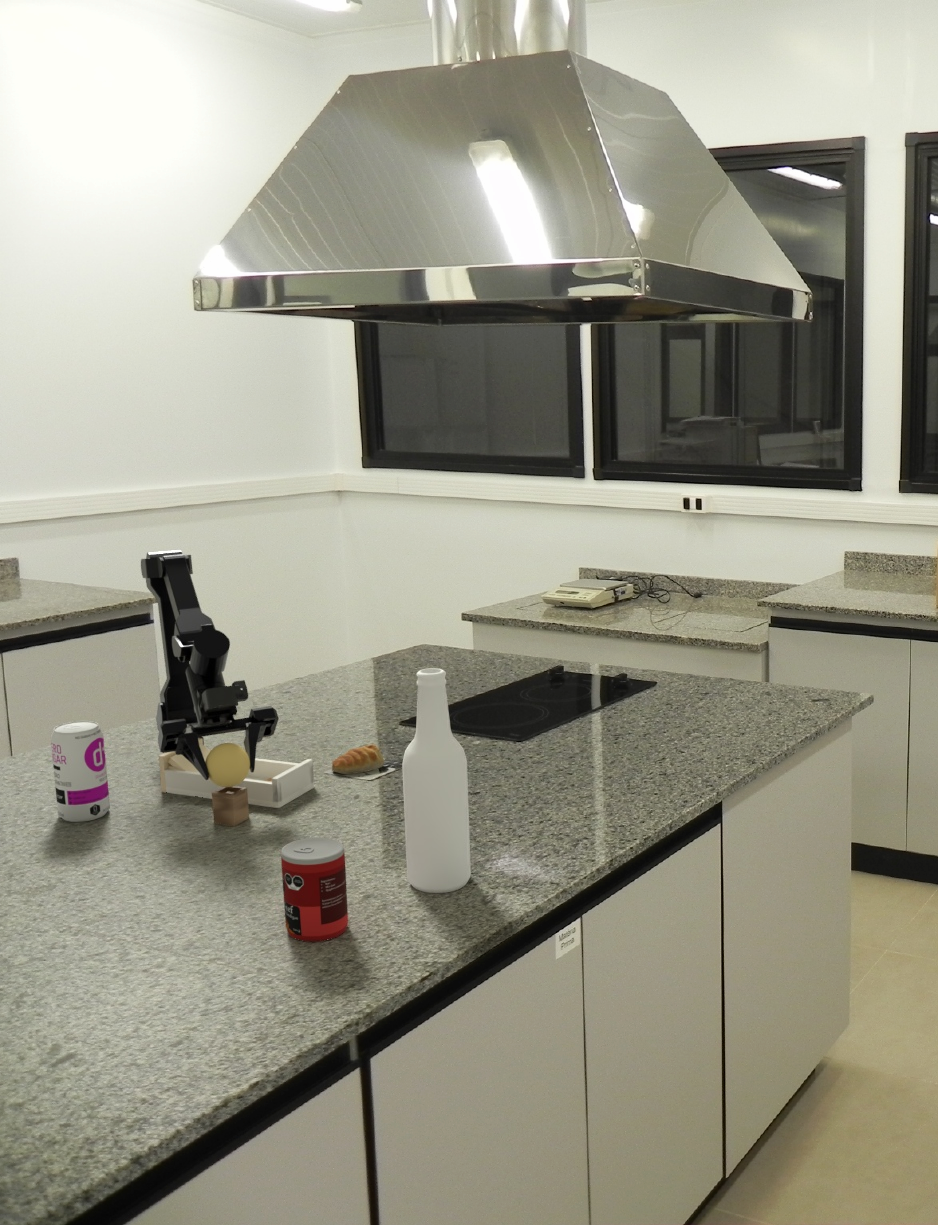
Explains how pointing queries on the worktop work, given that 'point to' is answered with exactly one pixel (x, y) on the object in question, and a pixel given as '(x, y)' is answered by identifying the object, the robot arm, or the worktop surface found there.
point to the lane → (264, 785)
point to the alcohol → (435, 794)
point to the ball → (227, 764)
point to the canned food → (314, 889)
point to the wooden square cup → (230, 805)
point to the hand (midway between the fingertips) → (230, 774)
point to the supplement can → (80, 771)
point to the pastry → (359, 760)
